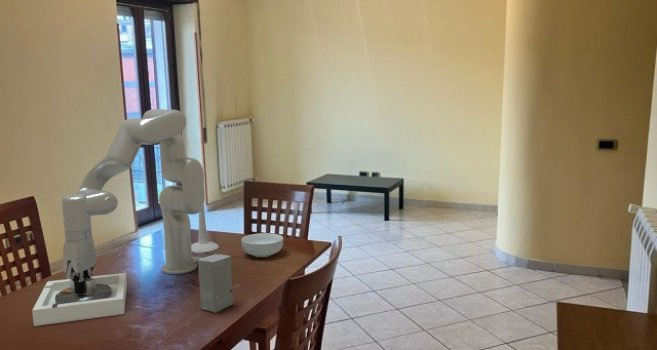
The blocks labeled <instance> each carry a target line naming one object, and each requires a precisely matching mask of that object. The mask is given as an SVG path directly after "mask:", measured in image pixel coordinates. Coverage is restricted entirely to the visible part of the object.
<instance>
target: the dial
mask: <svg viewBox="0 0 657 350" xmlns="http://www.w3.org/2000/svg"><path fill="white" fill-rule="evenodd" d="M83 281H84V285H85V294H76V293H75V288H74V282H73V281H72V280H71V279H70V288H67V289H65V290H62V291H61V292H59V293H58V294H57V295H56V296H55V303H56V304H57V303H58V304H66V303H74V302H82V301H90V300H98V299H106V298H109V297H110V296H111V294H112V291H111V287H110V286H108V285H105V284H97V283H95V278H83Z"/></svg>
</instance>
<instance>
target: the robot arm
mask: <svg viewBox="0 0 657 350" xmlns="http://www.w3.org/2000/svg"><path fill="white" fill-rule="evenodd" d="M186 127H187V117H186V116H185V114H184V113H183V112H182V111H180V110H178V109H165V108H163V109H162V108H159V109H158V108H156V109H149V110H147V111H145V113H144V114H143V115H142V118H137V117H134V118H128V119H125V120H123V122H121V124H120V126H119V127H118V130H117V132H116V133H115V136H114V138H113V140H112V142H111V144H110V146H109V148H108V150H107V151H106V154H105V155H104V157H103V158H102V159H101V160H99V161H98V162H97V164H95V165H94V166H93V167H92V168H91V169H90V170H89V171H88V172H87V173H86V175H85V176H84V178H83V179H82V181H81V184H80V185H79V187H78V189H77V192H76V193H75V194H74V193H72V194H69V195H67V194H66V195H65V196H63V197H62V199H61V207H62V219H63V220H62V221H63V229H64V241H63V248H62V265H63V266H62V268H63V272H64V273H65V274H66V276H65V278H66V279H71V280H72V281H73V282H74V288H75V293H76V294H85V285H84V281H83V278H91V277H93V270H94V268H95V267H96V266H97V254H96V246H95V243H94V238H93V237H94V236H93V232H92V217H93V216H106V215H109V214H111V213H113V212H115V210H116V209H117V207H118V199H117V197H116V195H115V194H114V193H112V192H110V191H106V190H102V189H103V188H104V186H105V185H106V184H107V183H108V182H109V181H110V180H111V179H112V178H114V177H116V176H118V175H120V174H122V173H124V172H126V171H128V170H129V169H130V168H131V167H132V165H133V164H134V162H135V159H136V157H137V155H138V152H139V151H140V149H141V146H142V145H148V146H149V145H155V144H159V146H160V147H159V148H160V149H159V150H160V160H161V163H160V164H161V175H162V178H163V179H164V180H166V181H167V182H170V183H177V184H181V185H168V186H166V187H164V188H163V189H162V190H161V191H160V192H159V196H158V203H159V207H160V210H161V213H162V214H161V215H162V222H163V223H162V224H163V240H164V255H165V264H164V265H162V266H161V271H162V273H165V274H169V275H182V274H187V273H191V272H193V271H195V270H196V269H197V267H198V265H197V264H198V260H199V259H202V258H205V257H206V256H205V257H204V256H203V257H202V256H201V255H200V256H194V255H193V254H194V253H192V248H191V245H192V233H191V232H192V231H191V219H190V217H189V215H196V214H199V212H200V211H201V210H202V208H203V206H204V207H205V201H206V200H205V199H206V198H205V197H206V194H205V173H204V169H203V168H204V167H203V166H202V164H201V162H200V161H199V160H198V159H196V158H193V157H187V155H186V147H185V141H184V138H183V135H182V134H181V133H182V132H184V130H185V129H186ZM82 276H83V277H82Z"/></svg>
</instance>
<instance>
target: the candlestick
mask: <svg viewBox="0 0 657 350" xmlns="http://www.w3.org/2000/svg"><path fill="white" fill-rule="evenodd" d="M206 223H207V222H206V215H205V205H204V206H203V208H202V210H201V211H200V212H199V213H198V241H197V242H193V243H191V248H192V252H194V253H193V254H205V253H204V252H209V253H211V252H210V251H213V252H215V251H214V250H216V251H218V250H217V249H218V248H219V249H220V246H219V244H217V243H216V242H213V241H208V234H207V233H208V232H207V224H206Z"/></svg>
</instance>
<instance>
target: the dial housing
mask: <svg viewBox="0 0 657 350" xmlns="http://www.w3.org/2000/svg"><path fill="white" fill-rule="evenodd" d="M91 278H95V283H97V284H105V285H108V286H110V287H111V291H112V294H111V296H110V297H109V298H106V299H98V300H90V301H82V302H74V303H66V304H58V303H57V304H56V303H55V296H56V295H57V294H58V293H59V292H61V291H62V290H65V289H67V288H70V279H68V278H66V279H58V280H49V281H47V282H46V284H45V285H44V286H43V289H42V291H41V293H40V295H39V297H38V299H37V300H36V303H35V304H34V305H33V308H32V313H31V314H32V320H33V321H32V322H33V326H34V327H38V326H46V325H54V324H60V323H69V322H73V321H76V322H77V321H81V320H88V319H96V318H103V317H105V318H106V317H112V316H119V315H125V309H126V308H125V307H126V299H127V289H128V282H127V280H128V279H127V272H121V273H113V274H111V273H110V274H103V275H94V276H93V275H92V277H91Z"/></svg>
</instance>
